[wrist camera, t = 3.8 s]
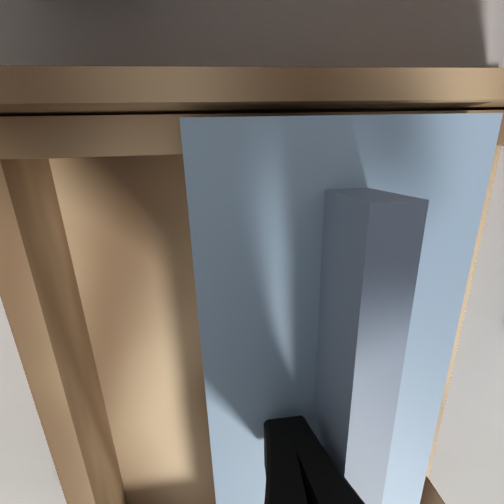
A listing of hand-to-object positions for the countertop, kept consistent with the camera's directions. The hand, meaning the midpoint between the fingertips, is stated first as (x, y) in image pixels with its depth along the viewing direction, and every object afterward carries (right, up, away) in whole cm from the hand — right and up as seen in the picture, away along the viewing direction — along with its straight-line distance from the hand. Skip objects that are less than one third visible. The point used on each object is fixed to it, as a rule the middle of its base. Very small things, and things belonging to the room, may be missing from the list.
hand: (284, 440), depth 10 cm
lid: (+2, +1, +1) cm, 2 cm away
